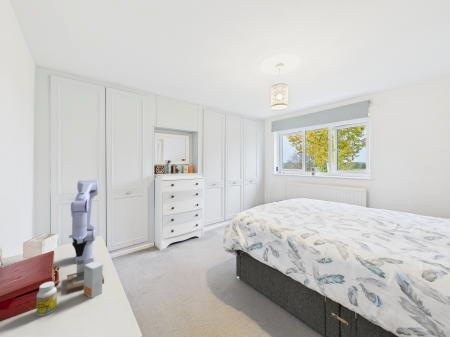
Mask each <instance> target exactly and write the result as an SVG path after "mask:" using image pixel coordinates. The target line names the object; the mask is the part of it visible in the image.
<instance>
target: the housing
mask: <svg viewBox="0 0 450 337" xmlns="http://www.w3.org/2000/svg"><path fill="white" fill-rule="evenodd" d="M93 261H95V260H94V259H93V258H90V259H86V260H81V261H77V263H76V273H77V281H79V280H83V279H84V265H86V264H88V263H91V262H93Z"/></svg>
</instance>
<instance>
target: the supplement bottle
mask: <svg viewBox="0 0 450 337" xmlns="http://www.w3.org/2000/svg"><path fill="white" fill-rule="evenodd" d="M38 289H39V290H38V292H37V293H36V315H37V316H39V317H43V316H47V315H50V314H52V313H53V312H54V311H55V310H56V309H57V306H58V298H57V297H58V289H57V287H56V286H55V282H54V281H46V282H43V283H42V284H40V285H39V288H38Z"/></svg>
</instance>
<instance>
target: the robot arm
mask: <svg viewBox="0 0 450 337" xmlns="http://www.w3.org/2000/svg"><path fill="white" fill-rule="evenodd" d="M99 185H100V184H99V180H98V179H95V180H93V179H92V180H91V179H90V180H81V179H80V180H78V181H77V192H78V193H77V194H76V196H75V198H74V200H73V201H72V202H71V204H70V213H71V218H72V219H71V222H72V224H71V226H72V229H71V234H70V235H68V238H70V239H72V243H71V245H72V246H73V248H74V251H75V257H74V259H75V264H77V261H81V260H86V259H90V258H93V260H94V259H95V258H94V253H93V246H94V245H93V242H95V241H96V237H97V228H96V226H94V225H93V224H92V212H93V203H94V202H93V201H94V198H95V197H96V196H97V195H98V193H99Z"/></svg>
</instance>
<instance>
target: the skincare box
mask: <svg viewBox="0 0 450 337" xmlns="http://www.w3.org/2000/svg"><path fill="white" fill-rule="evenodd" d="M103 267H104V266H103V264H102V263H100V262H98V261H96V260H94V261H93V262H91V263H88V264H86V265H84V289H83V294H84V295H85V296H87V297H89V298H91V299H94V298H95V297H96V298H97V296H99V295H102V294H103V284H102V274H103Z"/></svg>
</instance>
